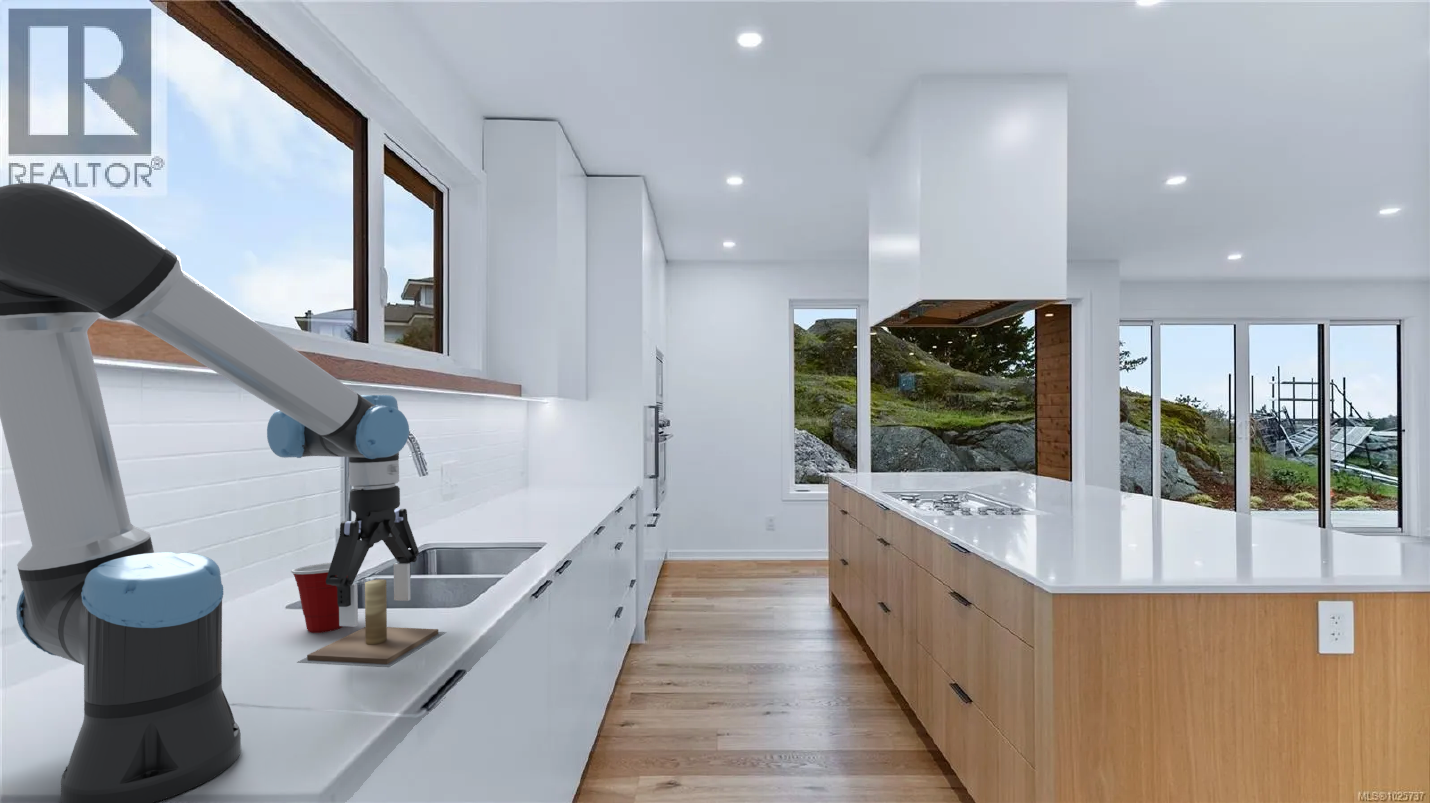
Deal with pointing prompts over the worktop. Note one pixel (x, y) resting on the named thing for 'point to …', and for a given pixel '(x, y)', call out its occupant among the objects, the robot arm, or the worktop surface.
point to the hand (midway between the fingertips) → (377, 612)
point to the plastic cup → (317, 598)
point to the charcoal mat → (374, 663)
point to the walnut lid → (374, 634)
